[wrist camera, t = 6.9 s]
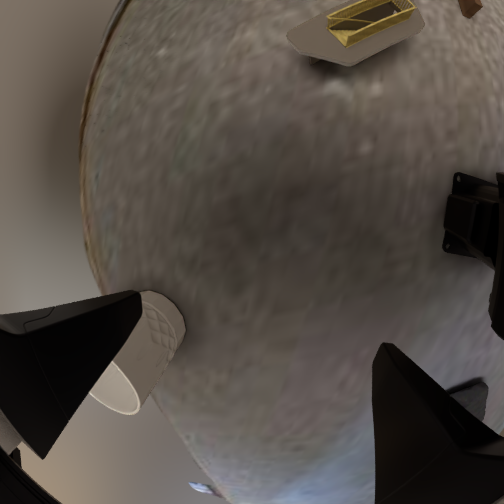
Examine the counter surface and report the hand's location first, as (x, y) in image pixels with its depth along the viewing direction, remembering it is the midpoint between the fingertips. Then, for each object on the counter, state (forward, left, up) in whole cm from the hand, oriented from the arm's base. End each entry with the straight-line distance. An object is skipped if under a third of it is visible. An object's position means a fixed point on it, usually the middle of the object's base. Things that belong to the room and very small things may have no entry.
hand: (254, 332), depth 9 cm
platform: (-4, -15, -13) cm, 21 cm away
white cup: (+12, +10, -13) cm, 20 cm away
